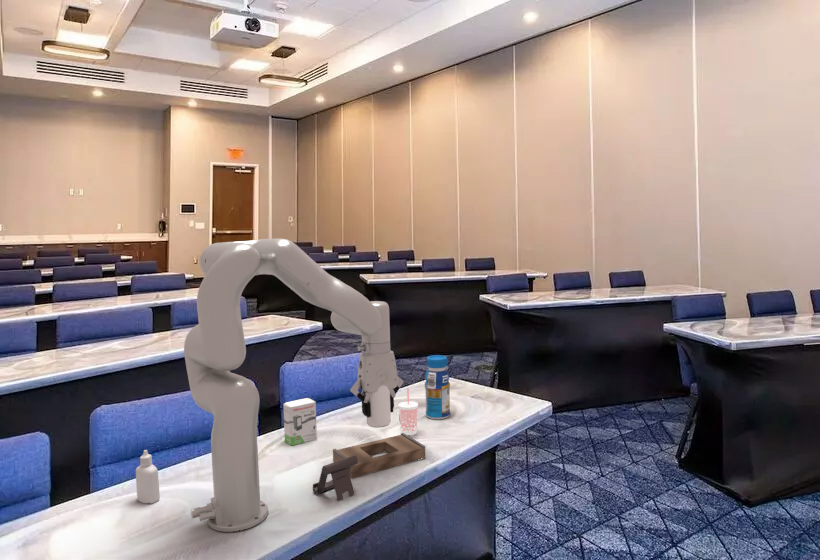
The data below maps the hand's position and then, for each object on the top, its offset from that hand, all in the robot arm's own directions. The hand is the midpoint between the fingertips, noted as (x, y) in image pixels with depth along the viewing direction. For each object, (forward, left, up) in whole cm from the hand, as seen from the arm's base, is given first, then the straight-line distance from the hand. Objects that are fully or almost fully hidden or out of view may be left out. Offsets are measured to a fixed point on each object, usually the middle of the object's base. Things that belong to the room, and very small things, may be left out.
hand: (378, 412), depth 148 cm
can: (0, 0, -3) cm, 3 cm away
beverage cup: (+17, +13, -13) cm, 25 cm away
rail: (0, 0, -13) cm, 13 cm away
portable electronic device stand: (-17, -11, -13) cm, 24 cm away
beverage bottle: (+33, +21, -13) cm, 41 cm away
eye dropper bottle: (-56, +10, -13) cm, 58 cm away
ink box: (-13, +26, -13) cm, 32 cm away
